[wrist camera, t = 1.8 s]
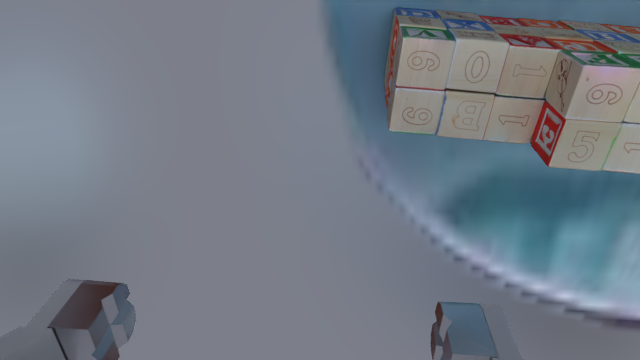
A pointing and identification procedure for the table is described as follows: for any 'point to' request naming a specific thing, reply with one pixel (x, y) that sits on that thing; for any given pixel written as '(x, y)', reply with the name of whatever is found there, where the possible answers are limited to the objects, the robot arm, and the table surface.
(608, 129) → the stack of blocks
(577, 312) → the table surface
